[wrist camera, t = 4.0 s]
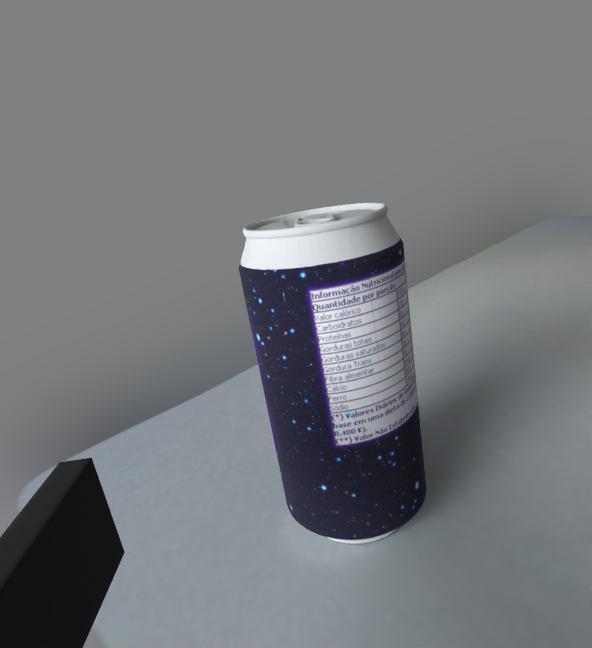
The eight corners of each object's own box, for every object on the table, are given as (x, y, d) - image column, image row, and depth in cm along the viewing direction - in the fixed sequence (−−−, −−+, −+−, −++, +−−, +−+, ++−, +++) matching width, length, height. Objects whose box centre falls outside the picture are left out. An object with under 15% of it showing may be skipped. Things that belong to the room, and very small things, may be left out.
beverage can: (410, 457, 23) (383, 196, 19) (445, 549, 17) (417, 209, 13) (291, 473, 23) (241, 220, 19) (288, 569, 17) (218, 242, 14)
